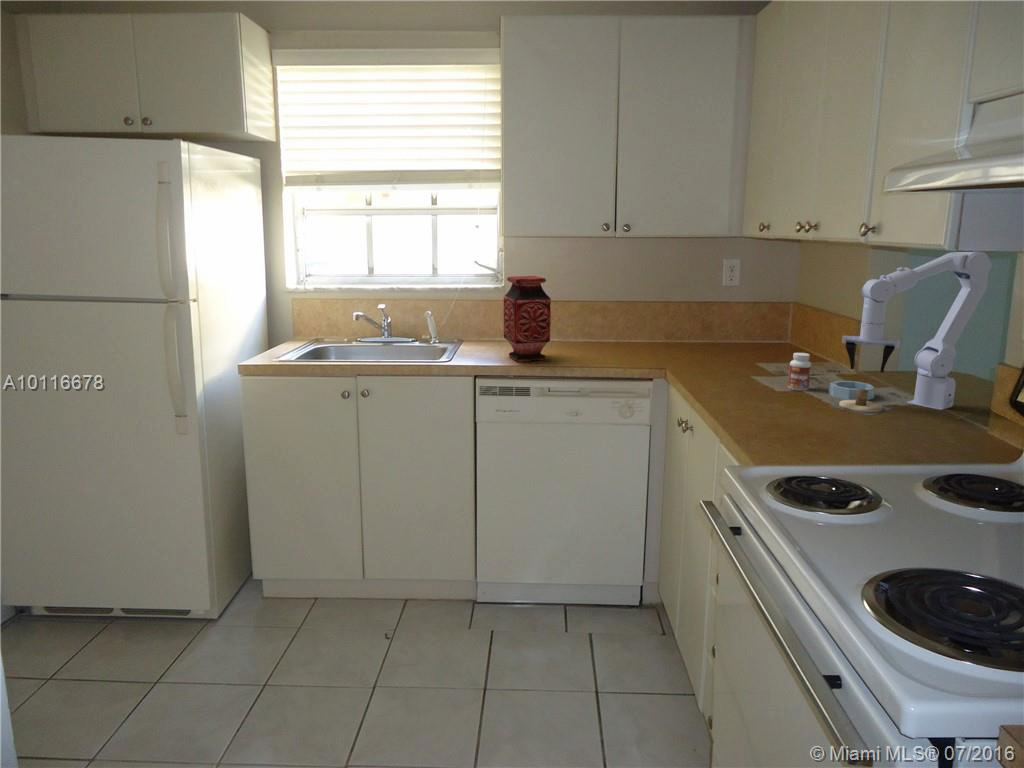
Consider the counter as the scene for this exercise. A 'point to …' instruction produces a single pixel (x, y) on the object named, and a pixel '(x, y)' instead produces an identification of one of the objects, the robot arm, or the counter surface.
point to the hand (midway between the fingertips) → (867, 370)
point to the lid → (860, 403)
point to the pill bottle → (799, 372)
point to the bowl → (850, 389)
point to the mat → (861, 412)
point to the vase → (527, 318)
